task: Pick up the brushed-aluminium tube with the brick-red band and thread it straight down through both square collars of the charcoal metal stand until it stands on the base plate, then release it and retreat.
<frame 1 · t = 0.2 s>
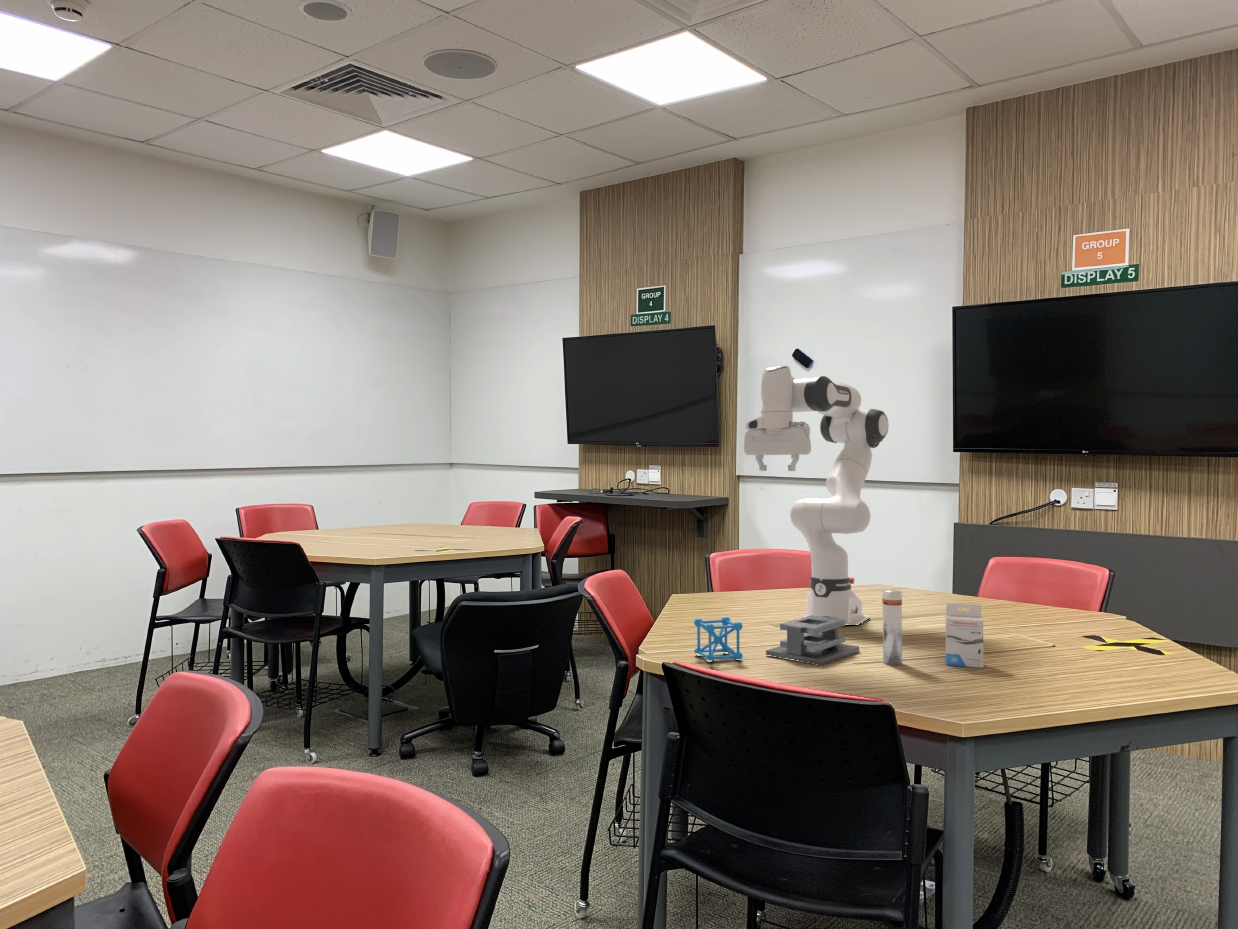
hand: (777, 471, 244), 48 cm above the table, fingers open, 8 cm apart
ink box: (964, 665, 212), on the table
collar stand: (813, 654, 225), on the table
molecular structure: (718, 659, 221), on the table
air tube: (892, 663, 214), on the table
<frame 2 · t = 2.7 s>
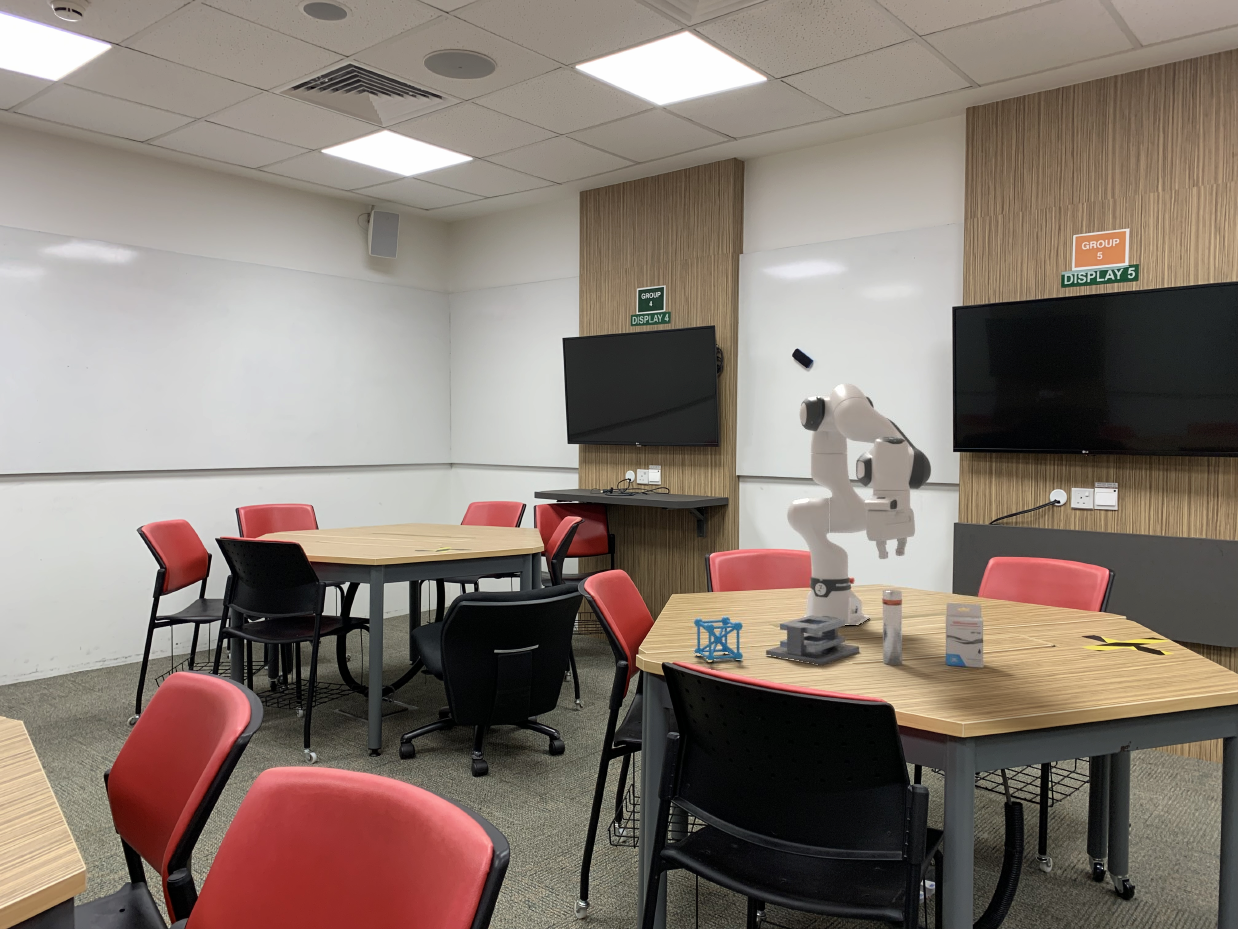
hand: (891, 557, 214), 26 cm above the table, fingers open, 8 cm apart
nothing on the table moved.
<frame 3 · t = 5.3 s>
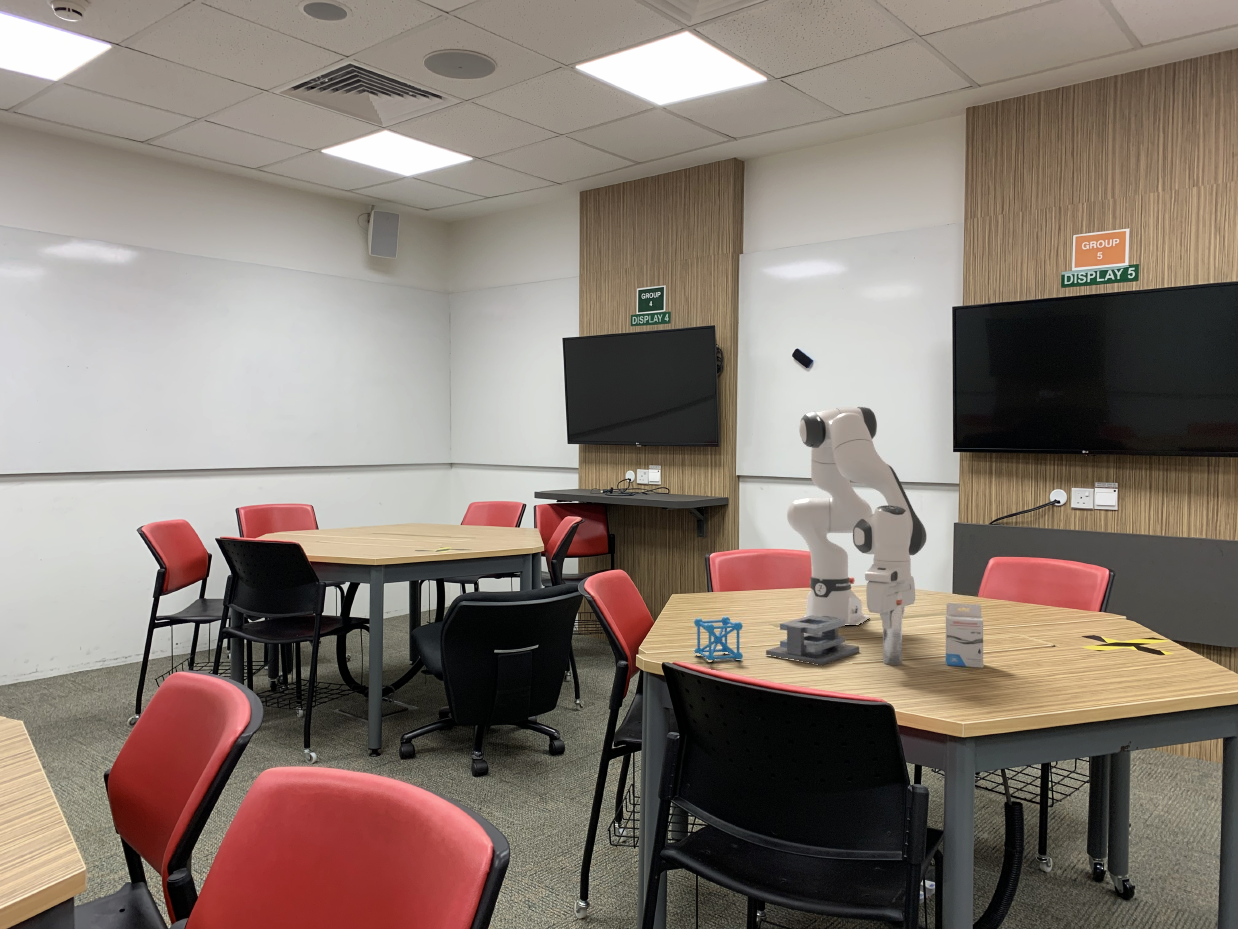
hand: (892, 626, 214), 9 cm above the table, fingers closed on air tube, 4 cm apart
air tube: (892, 663, 214), on the table, touching gripper
everything else where it was.
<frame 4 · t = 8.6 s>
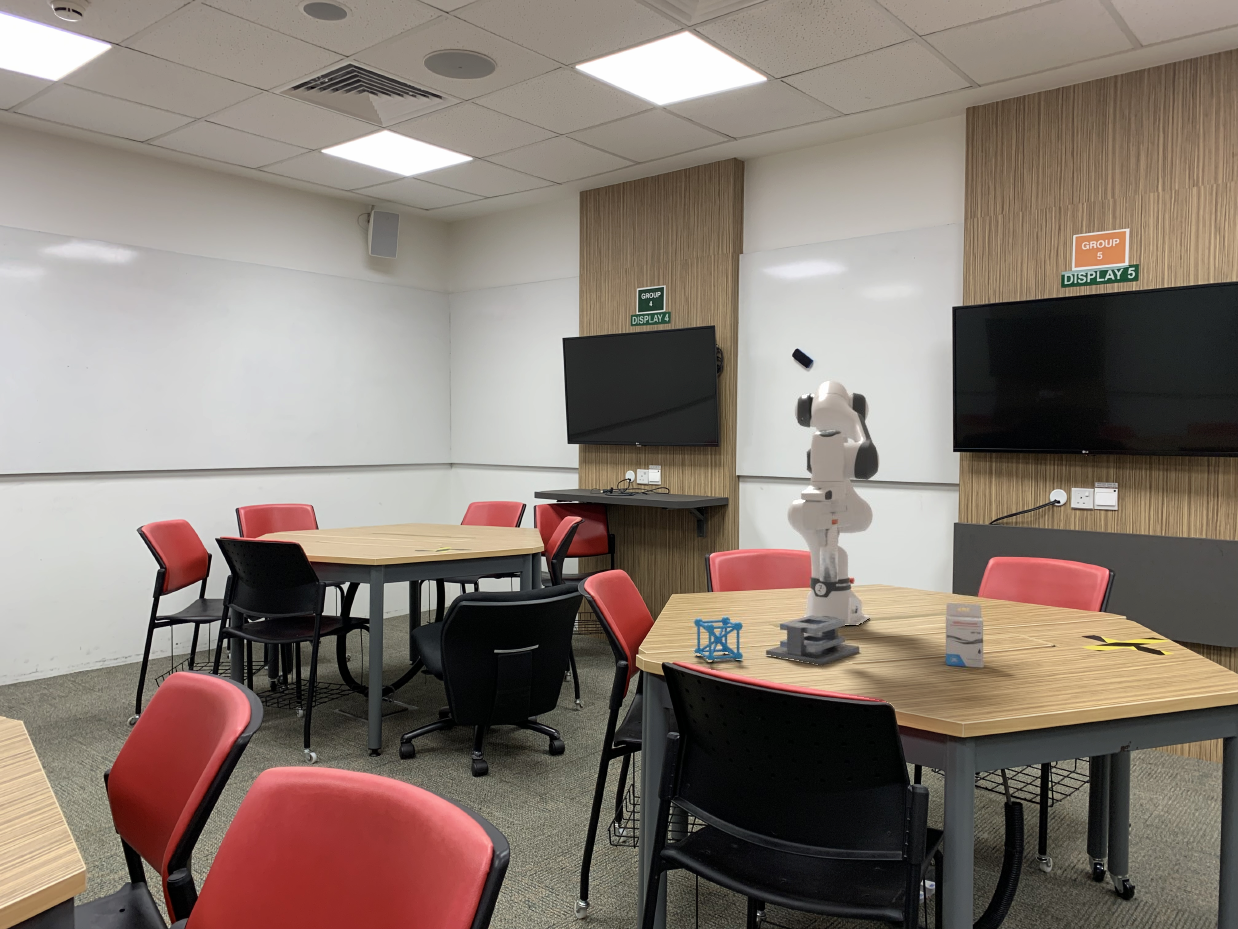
hand: (828, 545, 222), 29 cm above the table, fingers closed on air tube, 4 cm apart
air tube: (828, 580, 223), point 19 cm above the table, touching gripper
everything else where it was.
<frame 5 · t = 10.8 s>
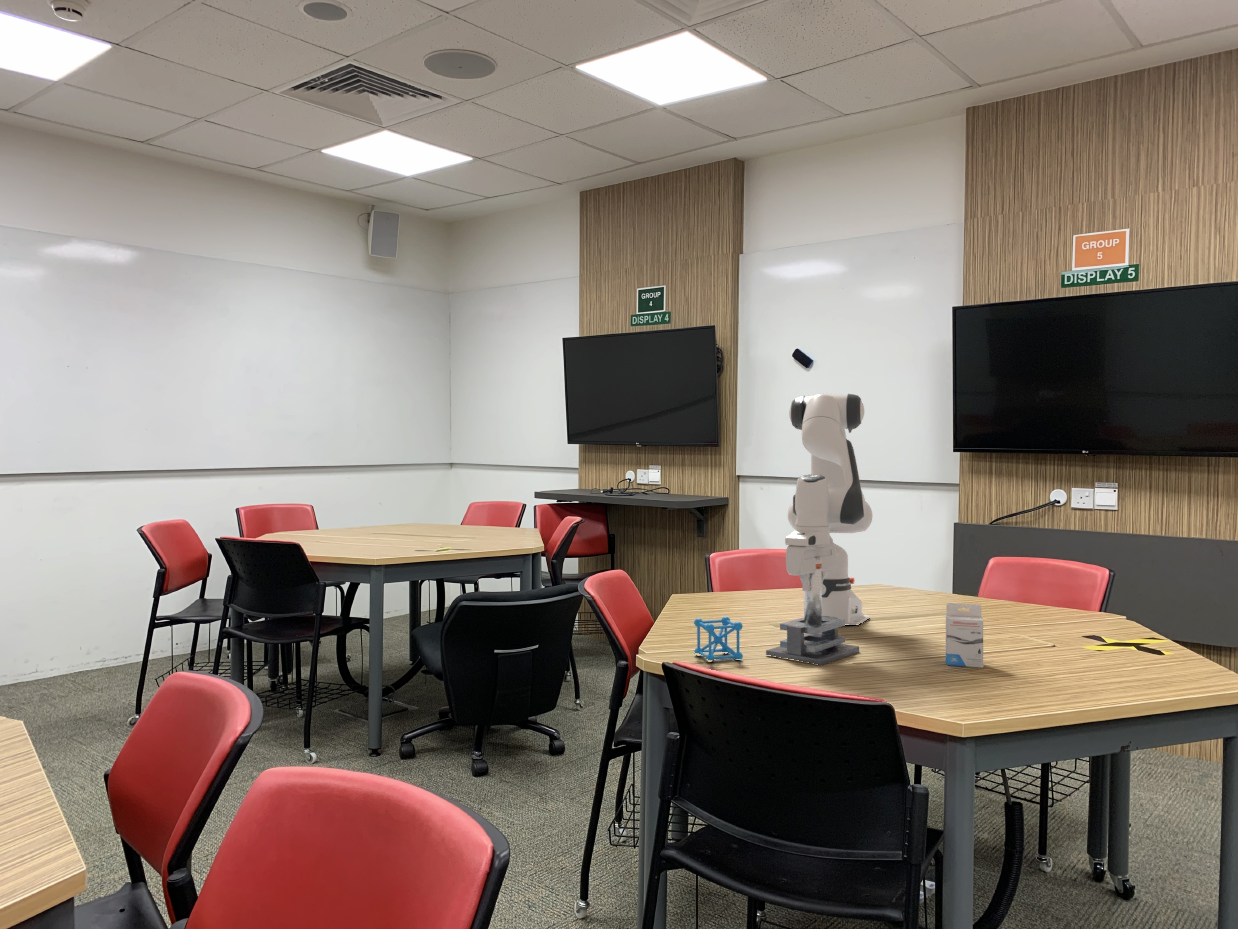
hand: (812, 589, 224), 17 cm above the table, fingers closed on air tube, 4 cm apart
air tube: (812, 624, 224), point 8 cm above the table, touching gripper
everything else where it was.
when the fingers open (12 cm above the table, at t = 12.3 s): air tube stays where it is, resting on collar stand.
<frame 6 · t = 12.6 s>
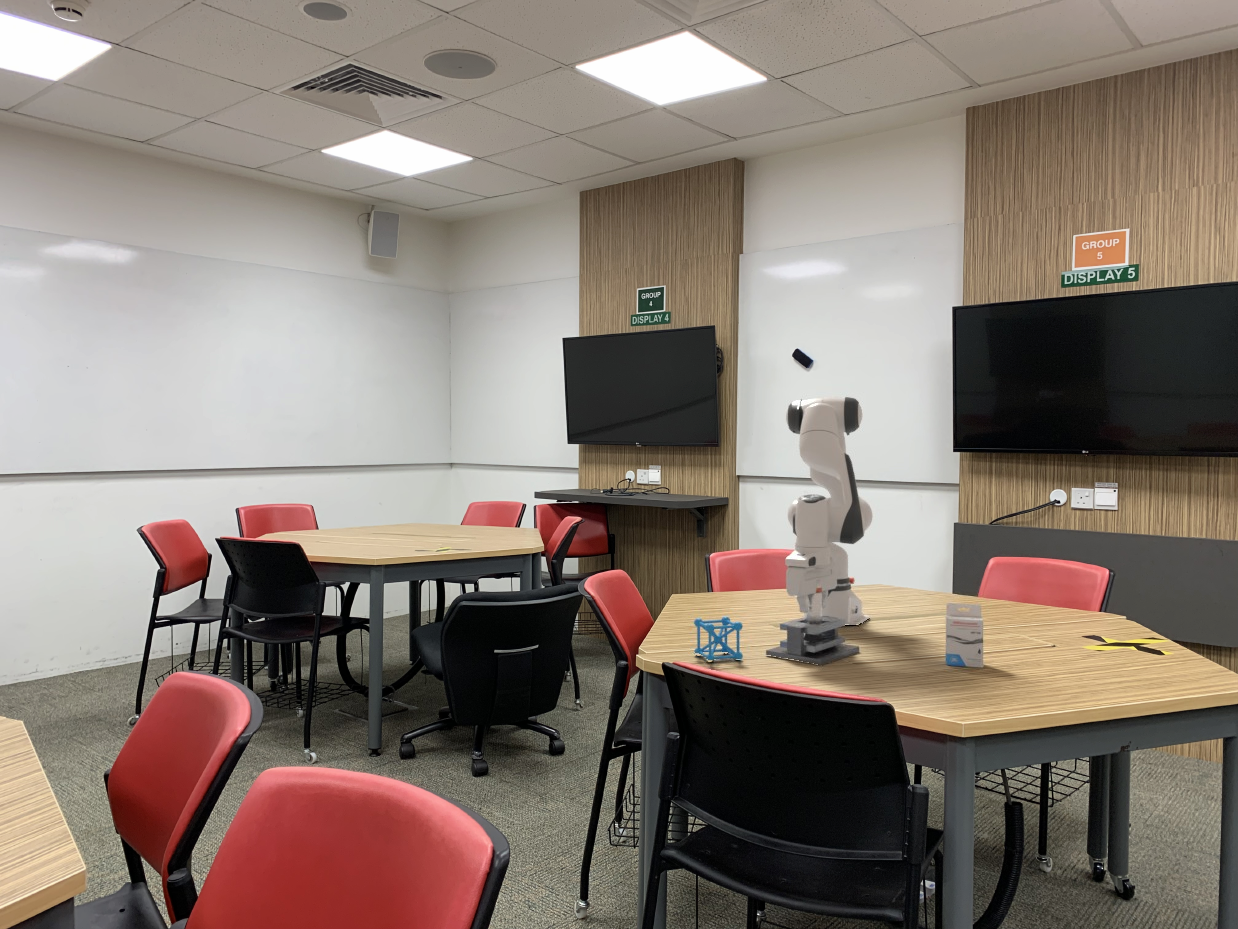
hand: (812, 609, 225), 12 cm above the table, fingers open, 8 cm apart
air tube: (813, 648, 225), point 2 cm above the table, touching collar stand
everything else where it was.
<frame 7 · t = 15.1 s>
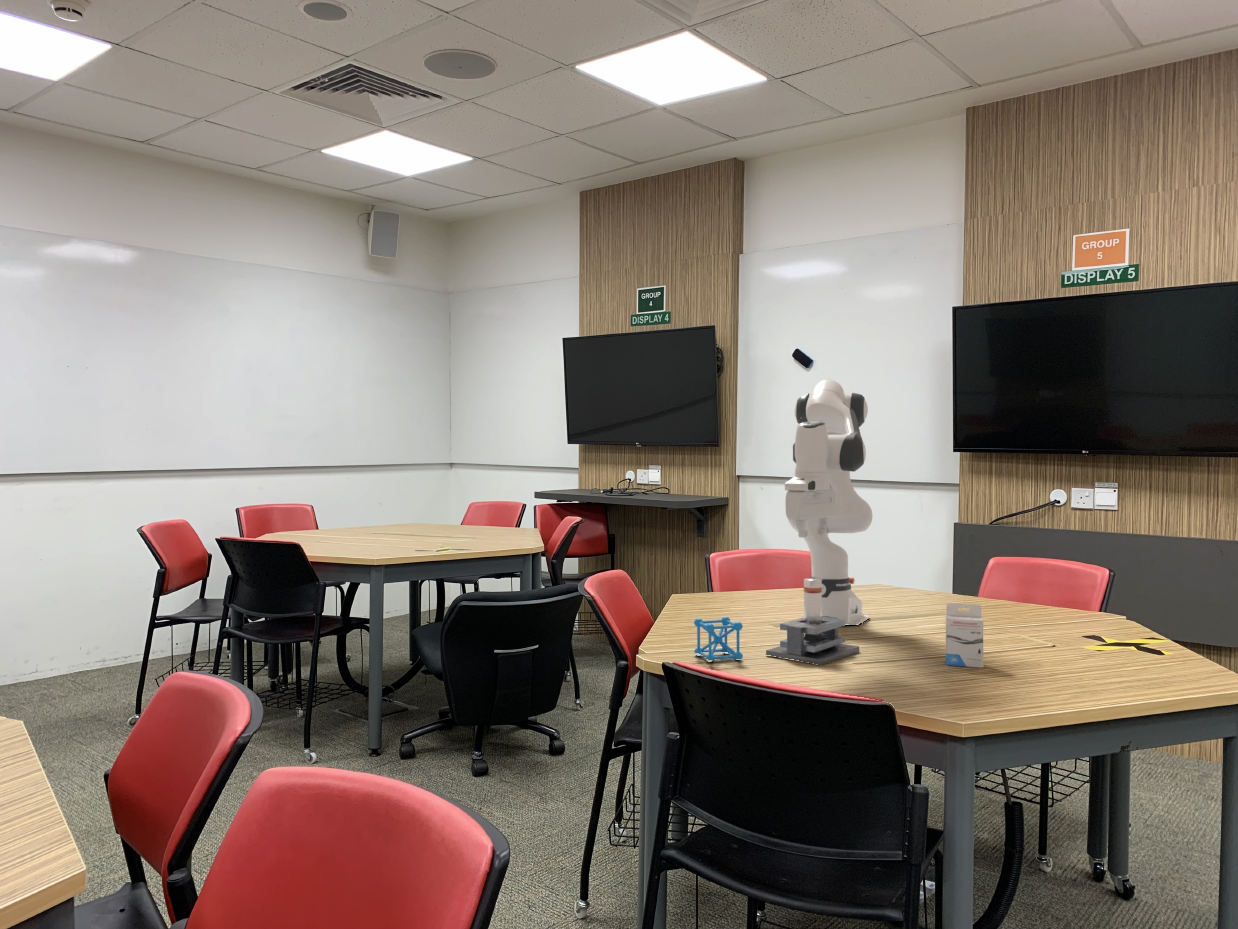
hand: (812, 536, 224), 31 cm above the table, fingers open, 8 cm apart
nothing on the table moved.
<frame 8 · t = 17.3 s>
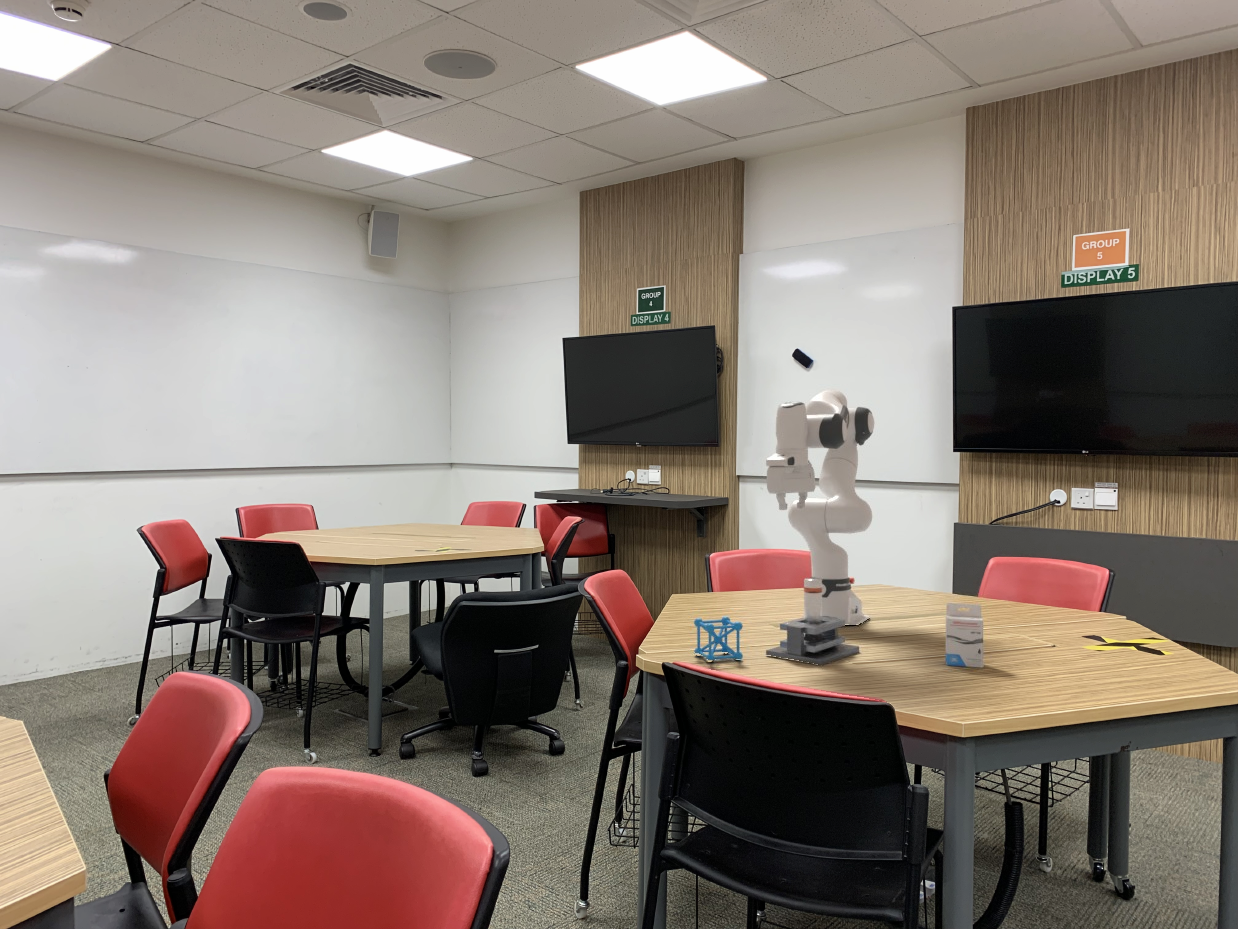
hand: (792, 509, 240), 37 cm above the table, fingers open, 8 cm apart
nothing on the table moved.
at the end: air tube 0.1 cm off-centre on the collar stand, point 1.5 cm above the collar stand's base; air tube tilted 0°; the gripper is holding nothing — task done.
